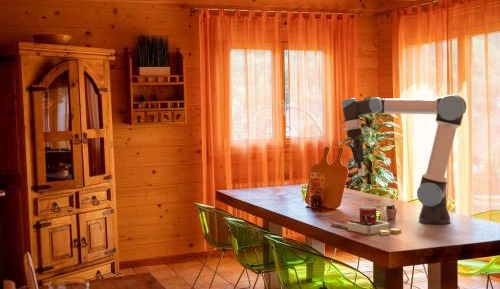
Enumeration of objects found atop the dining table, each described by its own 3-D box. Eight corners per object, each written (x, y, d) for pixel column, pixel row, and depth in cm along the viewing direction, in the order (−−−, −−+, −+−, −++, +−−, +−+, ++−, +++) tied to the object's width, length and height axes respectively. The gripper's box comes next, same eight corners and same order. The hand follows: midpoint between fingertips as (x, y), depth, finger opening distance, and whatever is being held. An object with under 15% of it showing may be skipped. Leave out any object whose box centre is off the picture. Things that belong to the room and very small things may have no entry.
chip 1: (379, 234, 281) (379, 229, 281) (388, 234, 280) (388, 229, 280) (381, 236, 277) (380, 231, 277) (389, 236, 276) (389, 231, 276)
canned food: (358, 230, 287) (357, 208, 287) (362, 227, 295) (362, 205, 294) (374, 232, 284) (373, 208, 283) (377, 228, 291) (377, 206, 291)
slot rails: (331, 225, 300) (331, 222, 300) (351, 222, 308) (351, 219, 308) (347, 229, 291) (347, 226, 291) (368, 225, 299) (368, 222, 299)
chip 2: (388, 233, 281) (388, 229, 281) (394, 232, 284) (393, 228, 284) (396, 234, 278) (396, 230, 278) (401, 233, 281) (401, 229, 281)
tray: (347, 229, 290) (347, 222, 290) (369, 225, 298) (369, 218, 298) (369, 234, 279) (369, 227, 278) (390, 230, 287) (390, 223, 287)
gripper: (351, 130, 313) (359, 175, 311) (342, 130, 302) (350, 177, 300) (365, 127, 309) (373, 173, 307) (356, 127, 298) (364, 174, 296)
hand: (361, 175), depth 304 cm, fingers closed
